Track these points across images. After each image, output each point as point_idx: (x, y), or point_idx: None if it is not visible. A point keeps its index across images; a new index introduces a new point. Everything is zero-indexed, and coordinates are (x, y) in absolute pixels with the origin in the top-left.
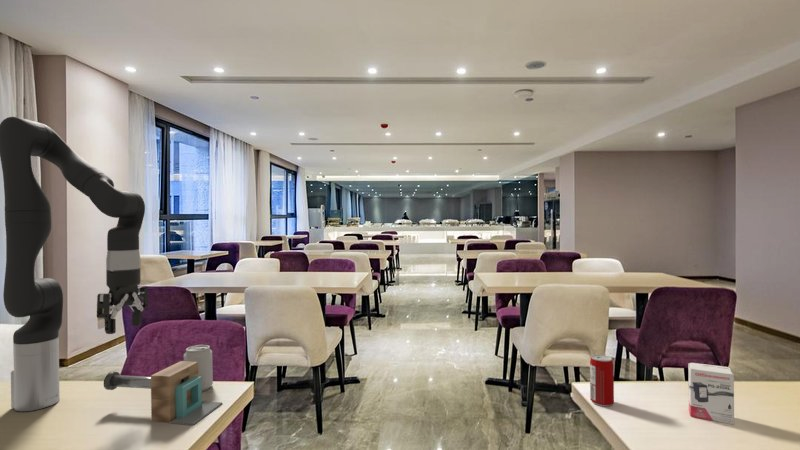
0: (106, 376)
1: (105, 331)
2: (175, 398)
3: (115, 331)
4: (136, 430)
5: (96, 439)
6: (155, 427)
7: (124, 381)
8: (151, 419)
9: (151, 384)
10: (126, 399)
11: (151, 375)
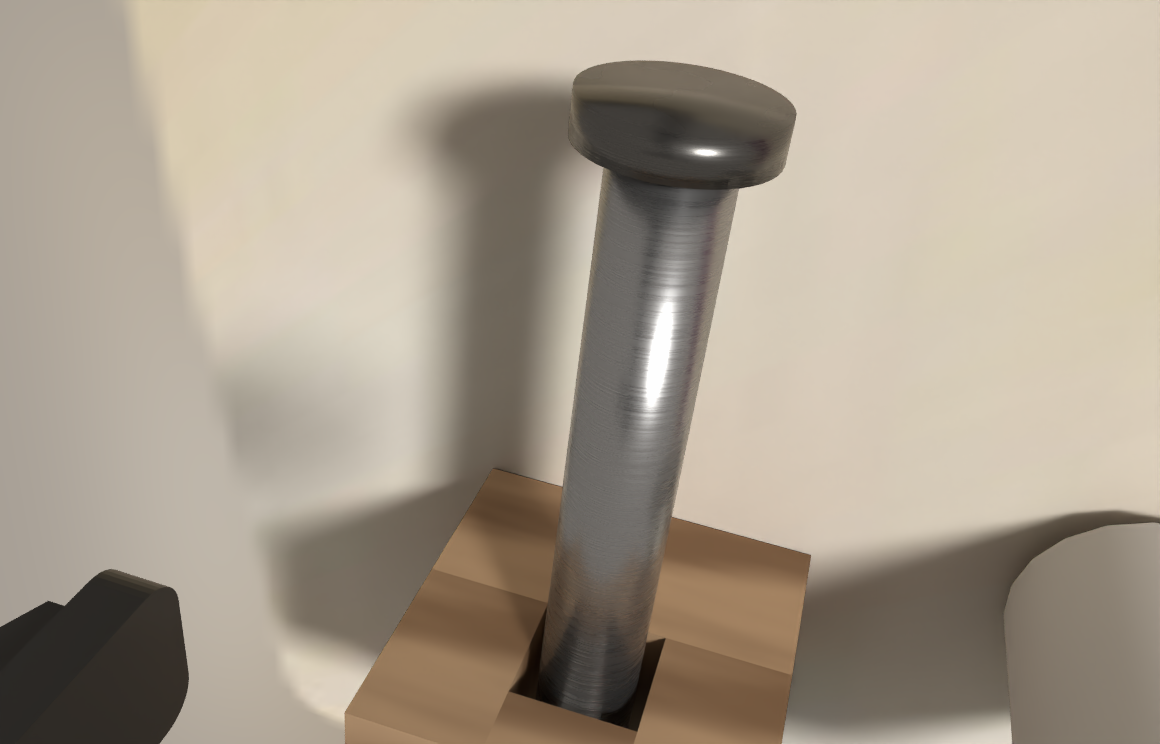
0: (587, 117)
1: (37, 611)
2: None
3: (166, 731)
4: (368, 432)
5: (230, 256)
6: (417, 518)
7: (585, 322)
8: (489, 475)
9: (379, 657)
10: (958, 49)
11: (347, 716)
